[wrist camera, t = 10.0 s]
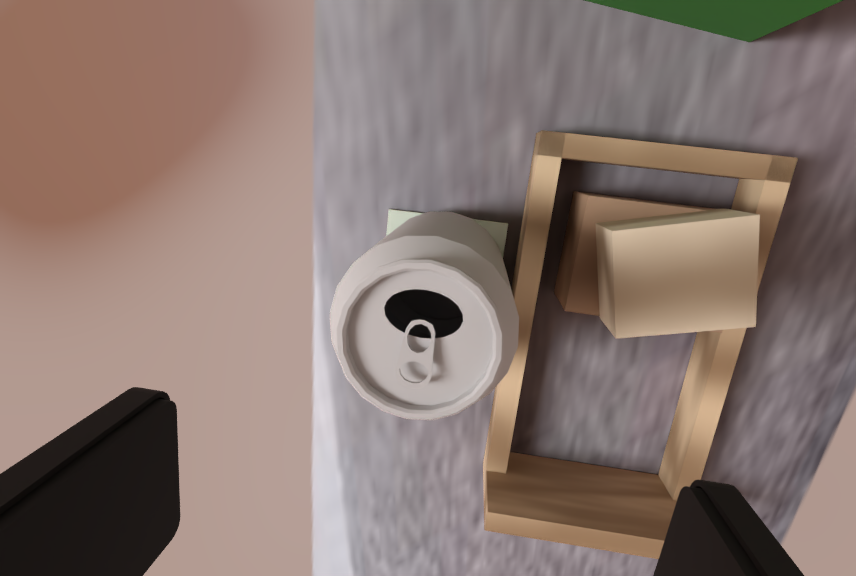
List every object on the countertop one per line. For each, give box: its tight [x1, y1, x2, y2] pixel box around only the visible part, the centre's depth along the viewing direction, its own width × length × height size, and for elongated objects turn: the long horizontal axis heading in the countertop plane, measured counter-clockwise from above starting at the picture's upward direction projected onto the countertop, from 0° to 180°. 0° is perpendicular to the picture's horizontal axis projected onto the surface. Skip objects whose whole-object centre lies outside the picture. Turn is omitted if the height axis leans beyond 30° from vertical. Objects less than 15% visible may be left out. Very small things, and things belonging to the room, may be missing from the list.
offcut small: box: [595, 208, 760, 339], centre depth 22 cm, size 5×6×3 cm
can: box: [330, 212, 519, 420], centre depth 23 cm, size 8×8×12 cm
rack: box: [483, 130, 798, 559], centre depth 26 cm, size 21×12×6 cm, turn 174°
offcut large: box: [554, 191, 723, 333], centre depth 26 cm, size 6×8×4 cm
